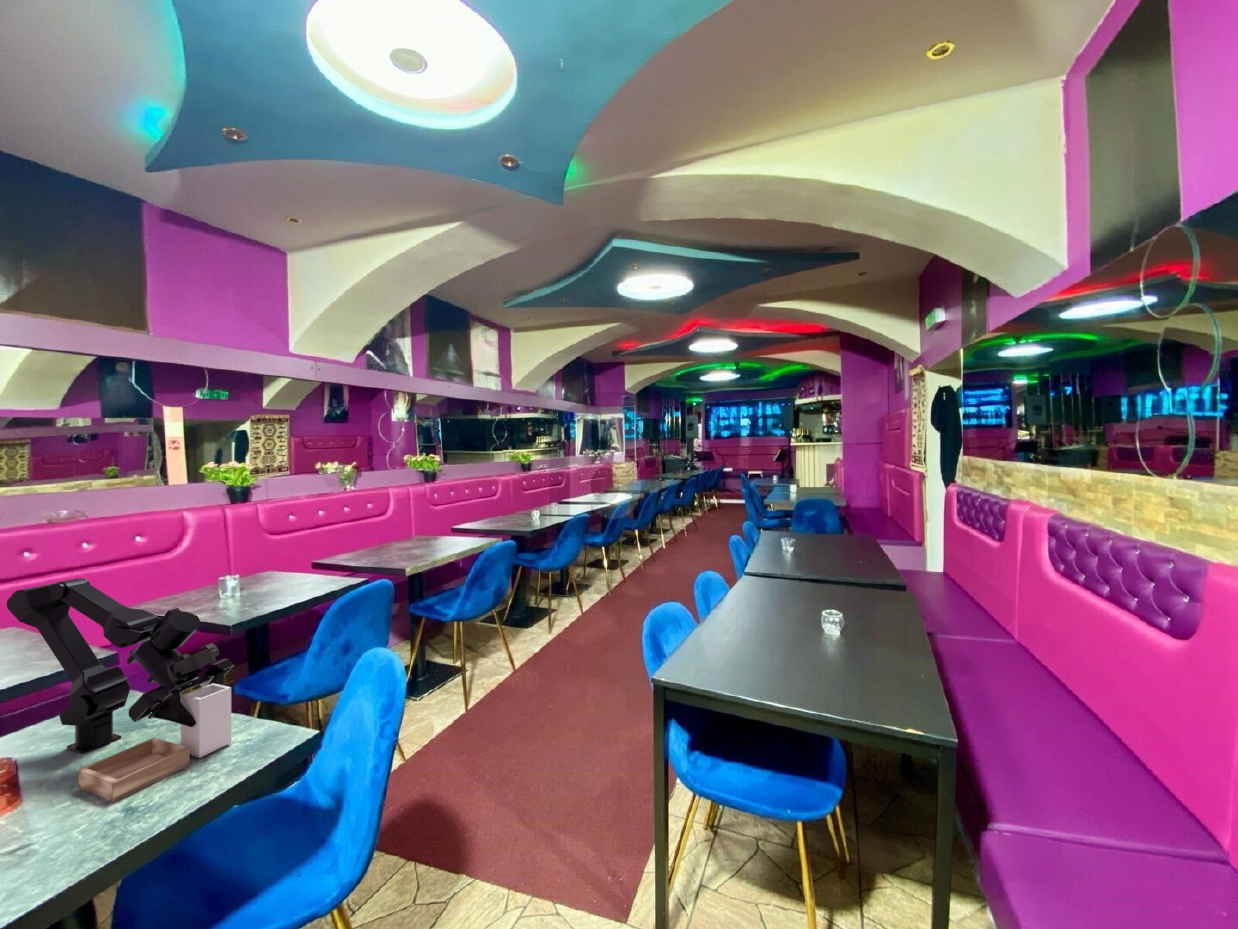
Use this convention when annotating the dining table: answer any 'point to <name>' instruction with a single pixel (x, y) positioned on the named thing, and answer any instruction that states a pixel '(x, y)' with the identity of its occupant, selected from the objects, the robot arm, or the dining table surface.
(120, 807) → the dining table surface
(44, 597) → the robot arm
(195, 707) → the white square vase
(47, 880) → the dining table surface
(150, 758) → the tray
